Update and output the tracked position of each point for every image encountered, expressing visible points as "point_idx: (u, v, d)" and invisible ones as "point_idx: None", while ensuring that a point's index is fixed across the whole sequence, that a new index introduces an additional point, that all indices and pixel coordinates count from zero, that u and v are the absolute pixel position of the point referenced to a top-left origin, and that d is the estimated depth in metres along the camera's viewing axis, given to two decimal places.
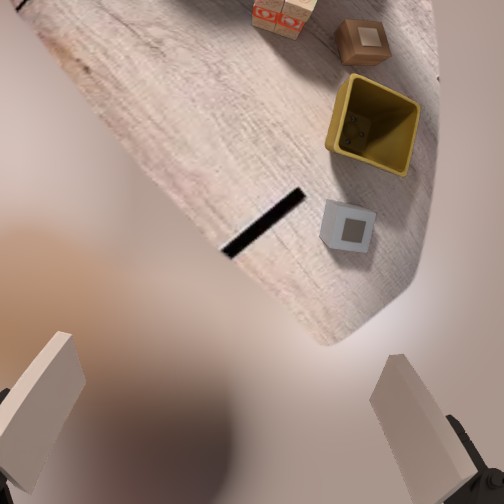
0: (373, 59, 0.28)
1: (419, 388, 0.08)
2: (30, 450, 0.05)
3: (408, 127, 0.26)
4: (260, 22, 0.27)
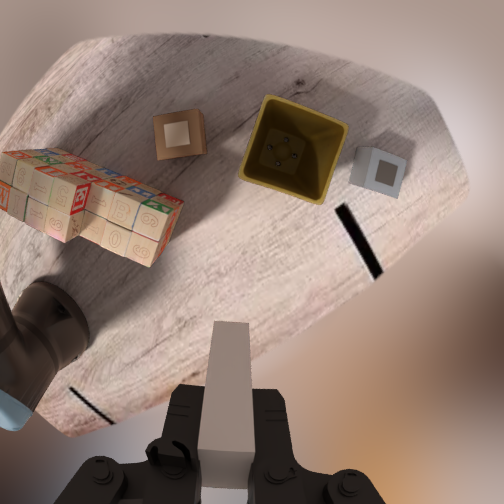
0: (201, 125, 0.30)
1: (241, 353, 0.10)
2: None
3: (291, 109, 0.26)
4: (168, 239, 0.36)
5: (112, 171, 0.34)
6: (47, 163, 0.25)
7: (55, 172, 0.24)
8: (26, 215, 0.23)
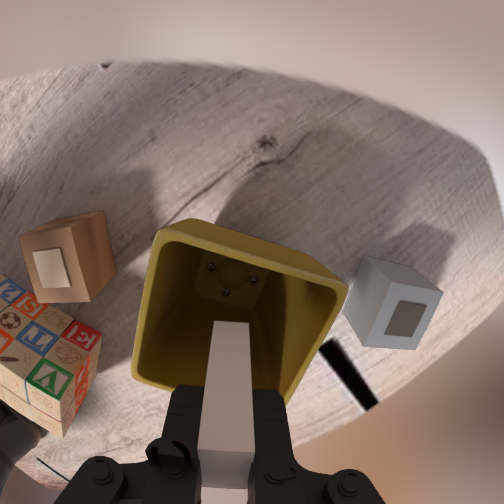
0: (90, 243, 0.17)
1: (240, 353, 0.10)
2: None
3: None
4: (91, 379, 0.23)
5: (15, 284, 0.21)
6: None
7: None
8: None
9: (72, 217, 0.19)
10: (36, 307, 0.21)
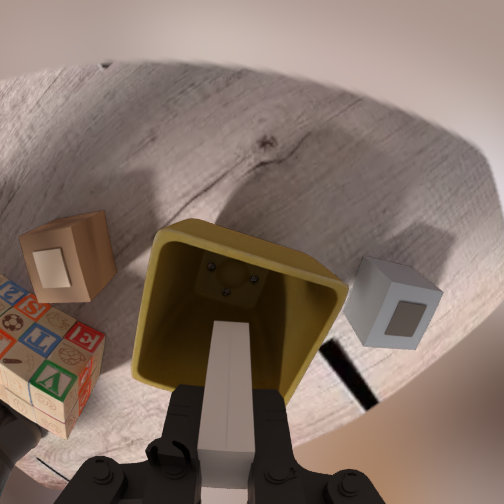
0: (90, 243, 0.17)
1: (240, 353, 0.10)
2: None
3: None
4: (94, 380, 0.23)
5: (17, 286, 0.21)
6: None
7: None
8: None
9: (72, 217, 0.19)
10: (38, 309, 0.21)
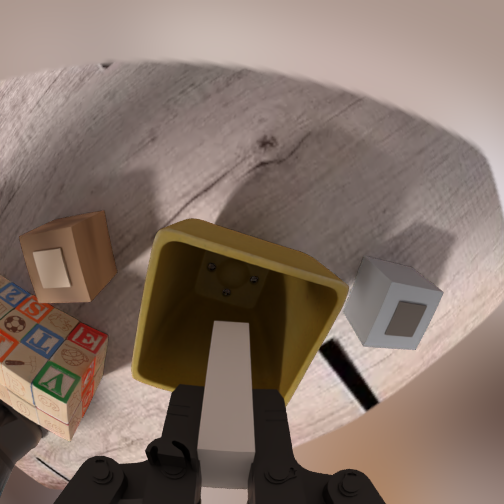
0: (91, 243, 0.17)
1: (240, 353, 0.10)
2: None
3: None
4: (97, 381, 0.23)
5: (19, 287, 0.21)
6: None
7: None
8: None
9: (72, 217, 0.19)
10: (41, 310, 0.21)
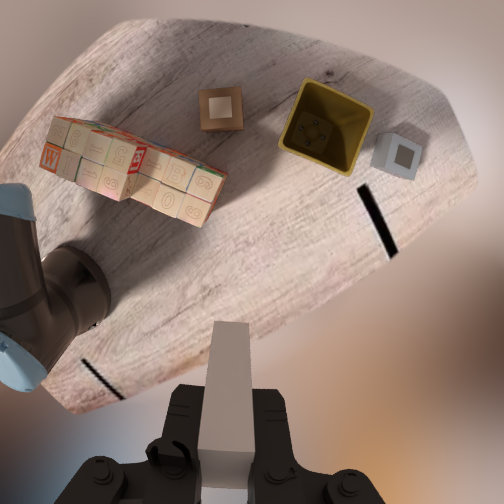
0: None
1: (240, 353, 0.10)
2: None
3: (325, 92, 0.28)
4: None
5: None
6: (100, 129, 0.28)
7: (110, 136, 0.27)
8: (78, 175, 0.26)
9: None
10: (180, 154, 0.36)
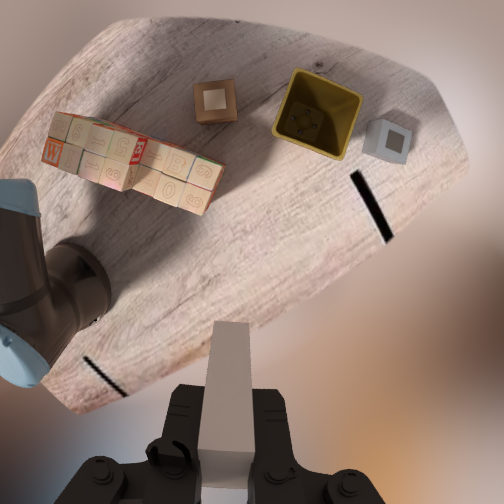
0: None
1: (240, 353, 0.10)
2: None
3: (315, 81, 0.29)
4: (211, 198, 0.39)
5: None
6: (101, 123, 0.28)
7: (112, 129, 0.28)
8: (80, 168, 0.27)
9: None
10: (179, 147, 0.37)
